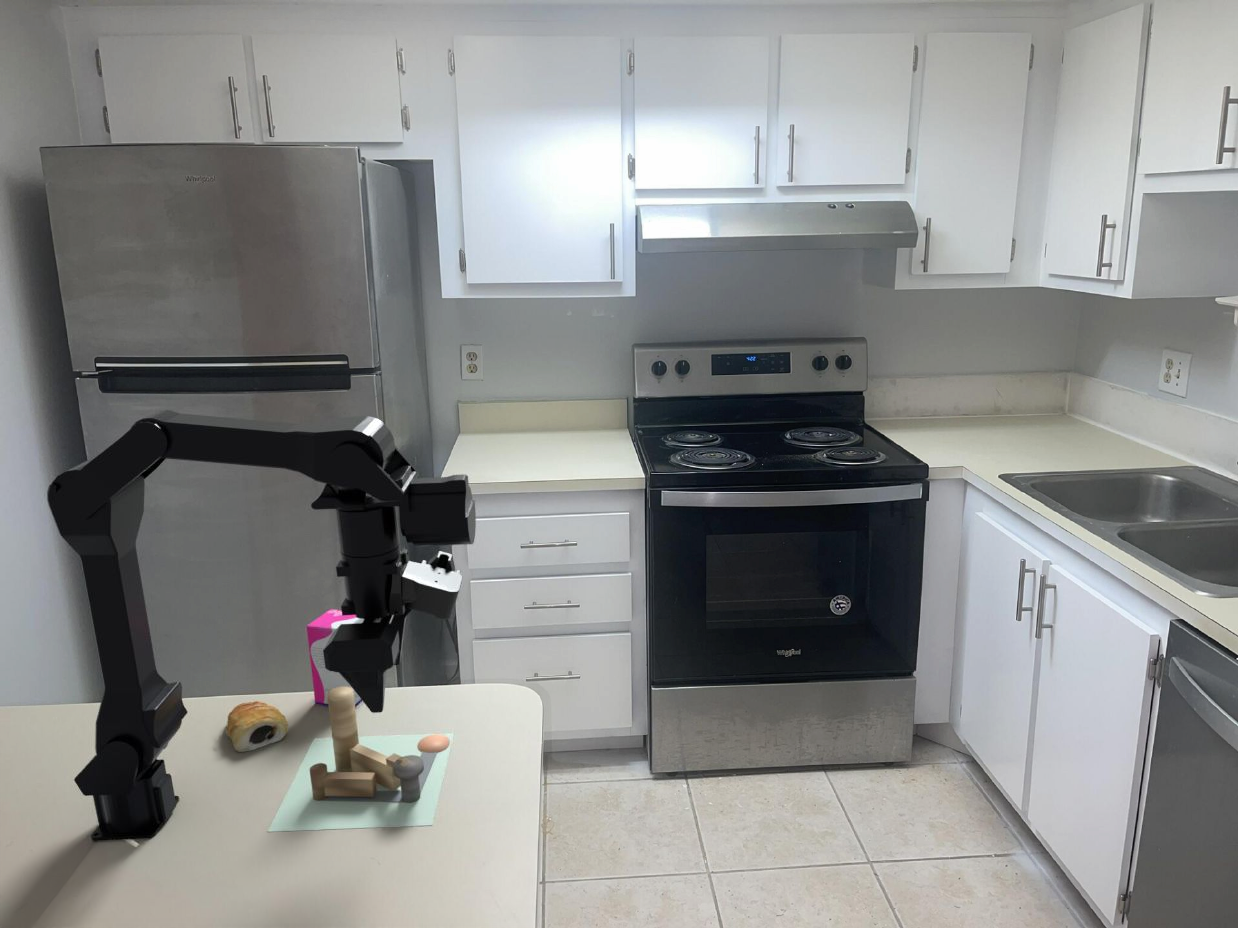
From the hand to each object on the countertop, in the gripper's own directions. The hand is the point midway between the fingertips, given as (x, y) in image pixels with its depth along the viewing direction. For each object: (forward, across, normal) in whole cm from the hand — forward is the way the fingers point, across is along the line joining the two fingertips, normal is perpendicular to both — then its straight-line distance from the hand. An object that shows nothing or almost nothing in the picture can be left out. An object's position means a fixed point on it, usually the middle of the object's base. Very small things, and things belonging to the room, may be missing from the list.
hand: (386, 686), depth 92 cm
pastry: (+15, +16, +21) cm, 30 cm away
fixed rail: (+15, +2, +4) cm, 15 cm away
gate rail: (+14, +4, +3) cm, 15 cm away
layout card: (+15, +5, +4) cm, 16 cm away
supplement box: (+15, +24, +12) cm, 31 cm away
